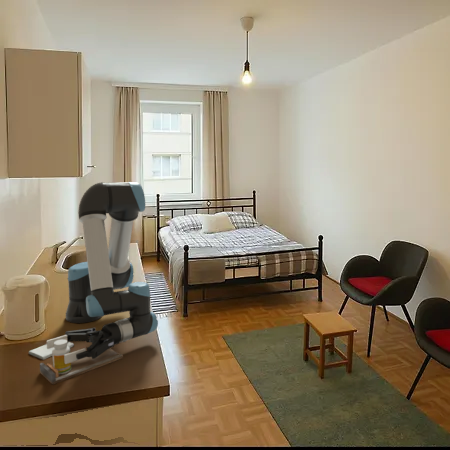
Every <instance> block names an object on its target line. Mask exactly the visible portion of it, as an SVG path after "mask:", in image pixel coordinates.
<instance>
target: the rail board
mask: <svg viewBox="0 0 450 450" xmlns="http://www.w3.org/2000/svg"><path fill="white" fill-rule="evenodd" d="M123 358H124V357H123V354H122V353H118V352H117V351H115V350H113V349H112V348H109V349H107V350H106V351H105V352H103V353H102V354H100V355H99V356H98V357H96V358H95V359H92V357H85V358H82V359H79V360H76V361H73V362H71V370H70V371H69V372H68V373H65V374H61V375H58V376H59V377H57V378H56V377H55V373H54V372H53V371H52V370H50V369H49V368H48V367H47V366H46V364H45V363H44V362H40V363H39V373H40V374H41V375H42V376H43V377H44V378H45V379H46V380H47V381H48V382H49V383H50V384H51V385H55V384H58V383H60V382H63V381H66V380H68V378H69V379H72V378H74V377H78V376H79V375H82V374H84V373H87V372H90V371H92V370H95V369H97V368H101V367H103V366H106V365H108V364H112V363H114V362H116V361H118V360H121V359H123Z"/></svg>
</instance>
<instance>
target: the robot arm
mask: <svg viewBox="0 0 450 450" xmlns="http://www.w3.org/2000/svg"><path fill="white" fill-rule="evenodd" d="M145 196H146V195H145V191H144V188H143V186H142V185H141V183H139V182H136V181H135V182H133V181H132V182H131V181H127V182H123V181H122V182H119V181H117V182H103V181H102V182H97V183H94V184H92V185H91V186H90V187H88V189H86V191H85V192H84V193H83V195H82V197H81V199H80V202H79V204H78V211H77V212H78V221H79V222H80V223H81V224H82V229H83V237H84V246H85V247H84V248H85V254H86V261H84V262H83V261H82V262H79V263H76V264H74V265H72V266H70V267H69V268H68V270H67V281H68V283H67V285H68V300H69V301H68V304H67V306H66V307H67V308H66V310H65V320H66V321H67V322H69V323H72V324H86V323H91V322H94V321H97V320H99V319H101V318H102V317H105V316H108V315H114V314H119V313H126V312H129V317H126V318H123V319H119V320H116V321H115V322H114V321H113V322H109V323H106V324H104V325H103V326H102V328H101V329H100V330H96V327H91V328H86V329H77V330H76V329H75V330H67V331H65V334H64V335H61V336H57V337H54V338H51V339H47V340H46V344H47V349H50V348H53V347H54V342H55V341H57V340H62V339H64V340H67V343H68V342H70V343H73V342H86V343H91V344H90V345H89V346H87V347H84V348H81V349H78V350H73V351H72V352H71V351H70V353H68V354H65V355H64V361H65V364H67V363H70V362H73V361H76V360H79V359H82V358H85V357H92V359H95V358H96V357H98V356H99V355H100V354H102V353H103V352H105V351H106V350H107V349H109V348H110V349H112V348H113V347H114V346H116V345H118V344H121V343H126V341H129V340H132V339H136V338H139V337H141V336H145V335H148V334H150V333H152V332H155V331H156V330H157V329H158V325H159V320H158V316H157V315H156V313H155V312H154V311H151V289H150V285H149V283H148V282H145V281H134V273H135V272H134V266H133V263H132V262H130V259H129V252H130V247H131V245H130V244H131V241H132V240H131V239H132V233H133V225H134V221H136V220H137V219H138V217H139V215H140V214H139V213H142V212H144V211H145V210H146V197H145ZM107 214H108V215H109V217H110V218H111V219H110V220H111V223H110V230H109V231H110V232H109V237H108V239H107V232H106V225H105V220H106V219H107ZM133 281H134V282H133ZM124 288H125V289H124ZM126 288H127V289H126ZM123 289H124V290H123ZM114 290H117V291H114Z"/></svg>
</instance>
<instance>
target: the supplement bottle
mask: <svg viewBox="0 0 450 450" xmlns="http://www.w3.org/2000/svg"><path fill="white" fill-rule="evenodd" d="M67 345H68V343H67V340H64V339H62V340H57V341H55V342H54V349H53V350H52V356H51V357H52V359H51V360H52V366H53V367H54V368H55V369H57V370H58V375H61V374H65V373H68V372H69V371H70V370H71V362H70V363H67V364H65V361H64V355H65V354H68V353H71V348H69V347H68V346H67Z"/></svg>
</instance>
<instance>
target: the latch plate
mask: <svg viewBox="0 0 450 450" xmlns="http://www.w3.org/2000/svg"><path fill="white" fill-rule="evenodd" d="M45 365H46V366H47V367H48V368H49V369H50V370H52V371H53V372H54V373H55V377H56V378H57V377H59V376H58V370H57V369H55V368H54V367H53V364H51V363H50V362H48V363H46V364H45Z"/></svg>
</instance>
